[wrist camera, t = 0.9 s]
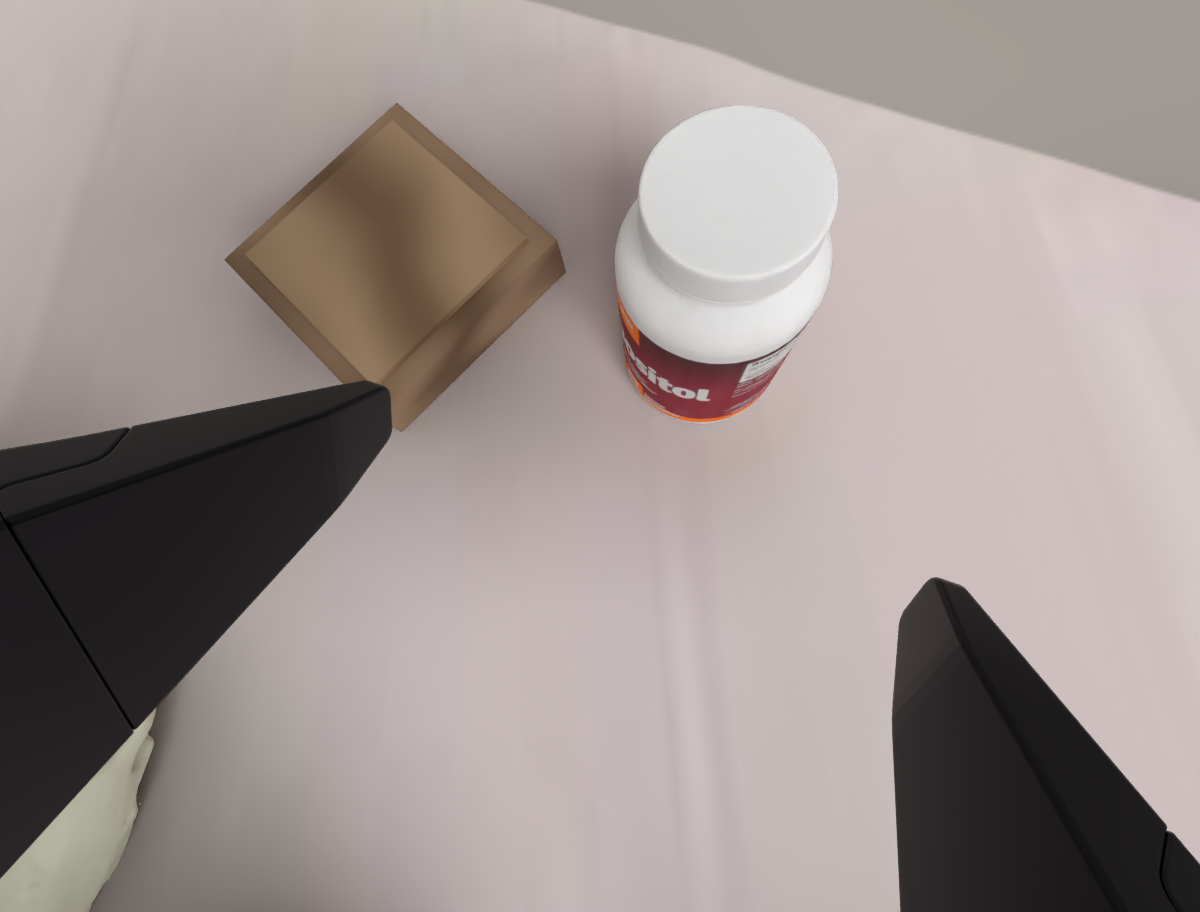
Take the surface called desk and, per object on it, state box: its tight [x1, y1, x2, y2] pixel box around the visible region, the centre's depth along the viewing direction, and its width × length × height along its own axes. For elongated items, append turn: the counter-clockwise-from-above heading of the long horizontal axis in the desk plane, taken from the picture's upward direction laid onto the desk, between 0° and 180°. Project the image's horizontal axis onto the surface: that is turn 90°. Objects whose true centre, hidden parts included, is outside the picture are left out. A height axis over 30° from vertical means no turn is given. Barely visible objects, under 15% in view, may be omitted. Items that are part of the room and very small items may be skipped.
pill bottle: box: [615, 105, 838, 424], centre depth 19 cm, size 6×6×11 cm
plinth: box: [225, 103, 566, 432], centre depth 25 cm, size 10×10×3 cm
